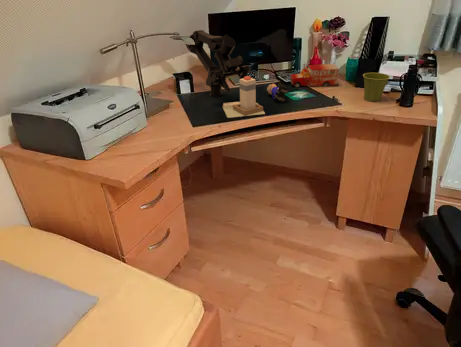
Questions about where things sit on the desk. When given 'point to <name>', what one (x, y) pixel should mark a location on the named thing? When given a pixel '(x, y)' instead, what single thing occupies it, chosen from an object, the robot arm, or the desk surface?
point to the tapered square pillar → (247, 93)
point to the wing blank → (230, 104)
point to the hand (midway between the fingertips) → (238, 89)
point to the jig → (243, 111)
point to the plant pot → (374, 85)
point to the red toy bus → (316, 76)
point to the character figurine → (277, 91)
